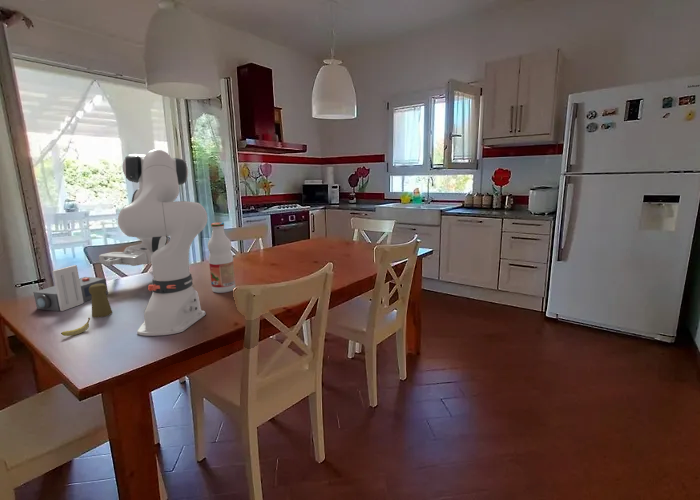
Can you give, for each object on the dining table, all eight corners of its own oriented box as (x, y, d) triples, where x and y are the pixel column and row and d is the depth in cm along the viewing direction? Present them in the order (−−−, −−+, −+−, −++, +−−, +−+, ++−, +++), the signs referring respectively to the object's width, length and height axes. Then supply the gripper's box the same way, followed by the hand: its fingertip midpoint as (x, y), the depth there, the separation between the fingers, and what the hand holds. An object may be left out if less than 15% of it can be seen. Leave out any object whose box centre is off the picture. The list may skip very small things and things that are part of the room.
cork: (100, 318, 126) (94, 287, 124) (87, 316, 128) (82, 286, 126) (116, 312, 132) (111, 282, 129) (104, 310, 134) (99, 281, 131)
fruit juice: (234, 292, 150) (227, 224, 144) (210, 294, 149) (202, 225, 143) (237, 285, 159) (231, 221, 153) (214, 287, 158) (207, 222, 152)
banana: (90, 328, 118) (88, 316, 117) (93, 329, 117) (91, 317, 117) (61, 338, 111) (58, 326, 111) (64, 339, 111) (61, 327, 110)
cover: (63, 311, 133) (55, 271, 130) (60, 310, 134) (52, 270, 130) (84, 303, 141) (77, 265, 138) (81, 303, 141) (74, 265, 138)
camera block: (54, 313, 132) (50, 293, 130) (31, 310, 135) (27, 291, 134) (108, 293, 152) (105, 276, 151) (87, 291, 156) (84, 275, 154)
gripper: (114, 247, 165) (85, 254, 152) (152, 249, 160) (125, 256, 147) (117, 261, 166) (88, 269, 153) (154, 263, 161) (127, 272, 148)
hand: (106, 263), depth 150 cm, fingers closed
